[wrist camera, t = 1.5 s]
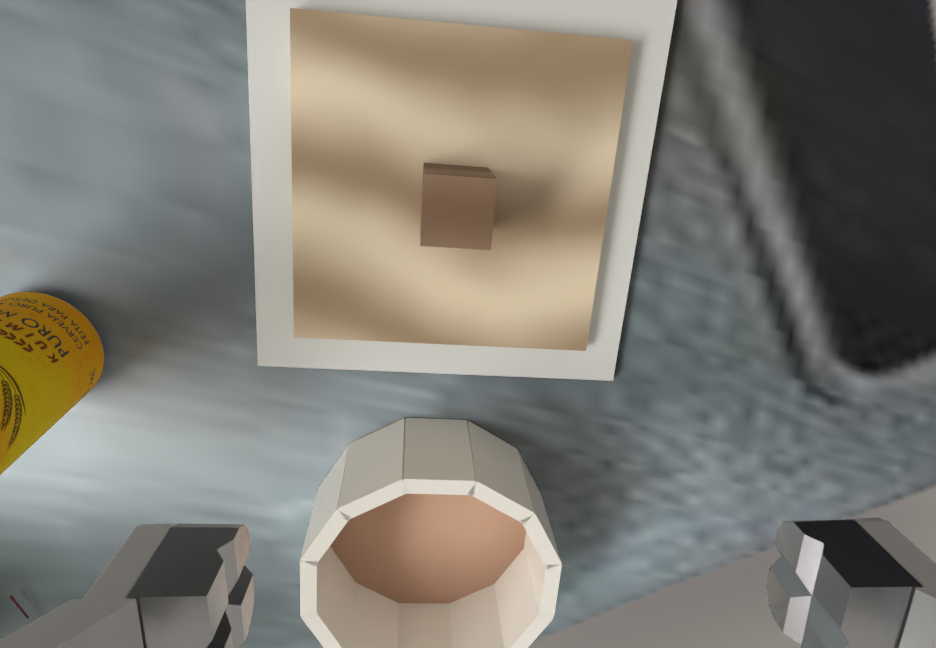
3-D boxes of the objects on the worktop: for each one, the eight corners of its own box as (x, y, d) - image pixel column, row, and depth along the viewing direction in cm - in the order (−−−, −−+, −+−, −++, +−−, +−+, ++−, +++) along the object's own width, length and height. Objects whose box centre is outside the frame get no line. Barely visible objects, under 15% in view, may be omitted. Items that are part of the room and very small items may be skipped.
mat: (247, -45, 28) (244, -47, 28) (673, -2, 30) (677, -3, 29) (259, 361, 34) (257, 365, 34) (610, 376, 36) (612, 380, 36)
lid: (293, 9, 28) (269, -5, 24) (627, 41, 30) (664, 33, 25) (296, 331, 33) (277, 369, 29) (582, 345, 35) (606, 383, 30)
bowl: (317, 414, 36) (299, 476, 30) (550, 422, 37) (574, 483, 31) (317, 603, 40) (301, 687, 34) (525, 604, 41) (543, 686, 36)
